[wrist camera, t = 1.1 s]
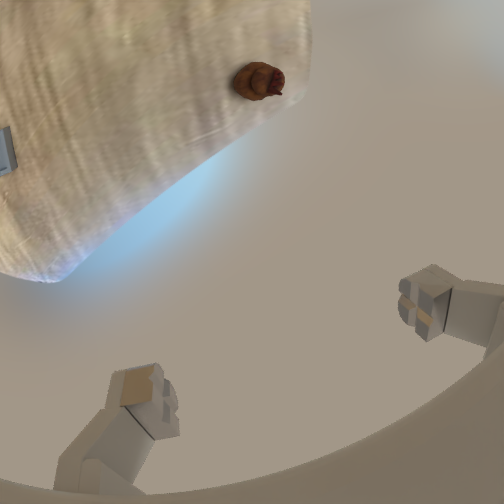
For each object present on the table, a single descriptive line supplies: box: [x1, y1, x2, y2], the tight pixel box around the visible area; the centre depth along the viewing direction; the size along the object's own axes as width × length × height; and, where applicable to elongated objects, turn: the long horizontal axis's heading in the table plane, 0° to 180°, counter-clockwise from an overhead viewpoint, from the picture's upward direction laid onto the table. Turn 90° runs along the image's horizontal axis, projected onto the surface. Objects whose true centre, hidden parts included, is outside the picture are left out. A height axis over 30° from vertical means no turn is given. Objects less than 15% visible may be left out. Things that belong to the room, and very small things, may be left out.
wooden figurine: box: [234, 62, 285, 101], centre depth 38 cm, size 7×6×15 cm
